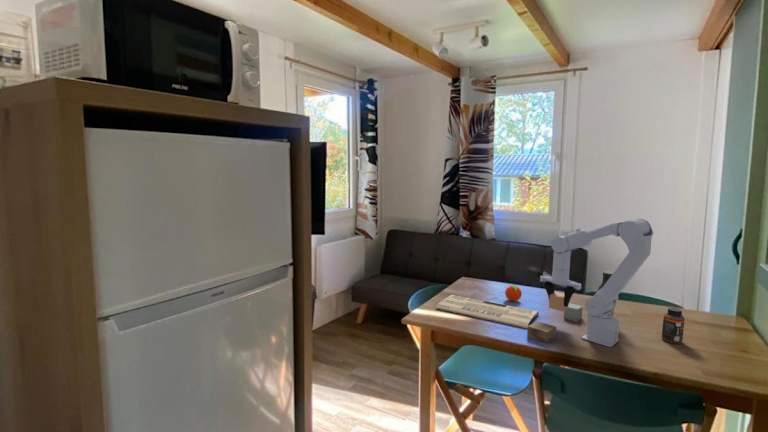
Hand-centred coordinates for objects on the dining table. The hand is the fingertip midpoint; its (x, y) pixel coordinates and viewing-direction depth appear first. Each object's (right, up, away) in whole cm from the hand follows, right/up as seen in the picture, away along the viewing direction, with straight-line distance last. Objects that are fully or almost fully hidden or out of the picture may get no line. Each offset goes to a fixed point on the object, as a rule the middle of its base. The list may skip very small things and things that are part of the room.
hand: (558, 304), depth 155 cm
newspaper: (-24, -7, +14) cm, 28 cm away
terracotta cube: (0, -2, 0) cm, 2 cm away
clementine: (-8, -5, +28) cm, 30 cm away
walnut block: (-10, -10, -10) cm, 17 cm away
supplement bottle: (+34, -11, -11) cm, 38 cm away
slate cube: (+9, -8, +9) cm, 15 cm away
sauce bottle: (+19, -8, +5) cm, 21 cm away
